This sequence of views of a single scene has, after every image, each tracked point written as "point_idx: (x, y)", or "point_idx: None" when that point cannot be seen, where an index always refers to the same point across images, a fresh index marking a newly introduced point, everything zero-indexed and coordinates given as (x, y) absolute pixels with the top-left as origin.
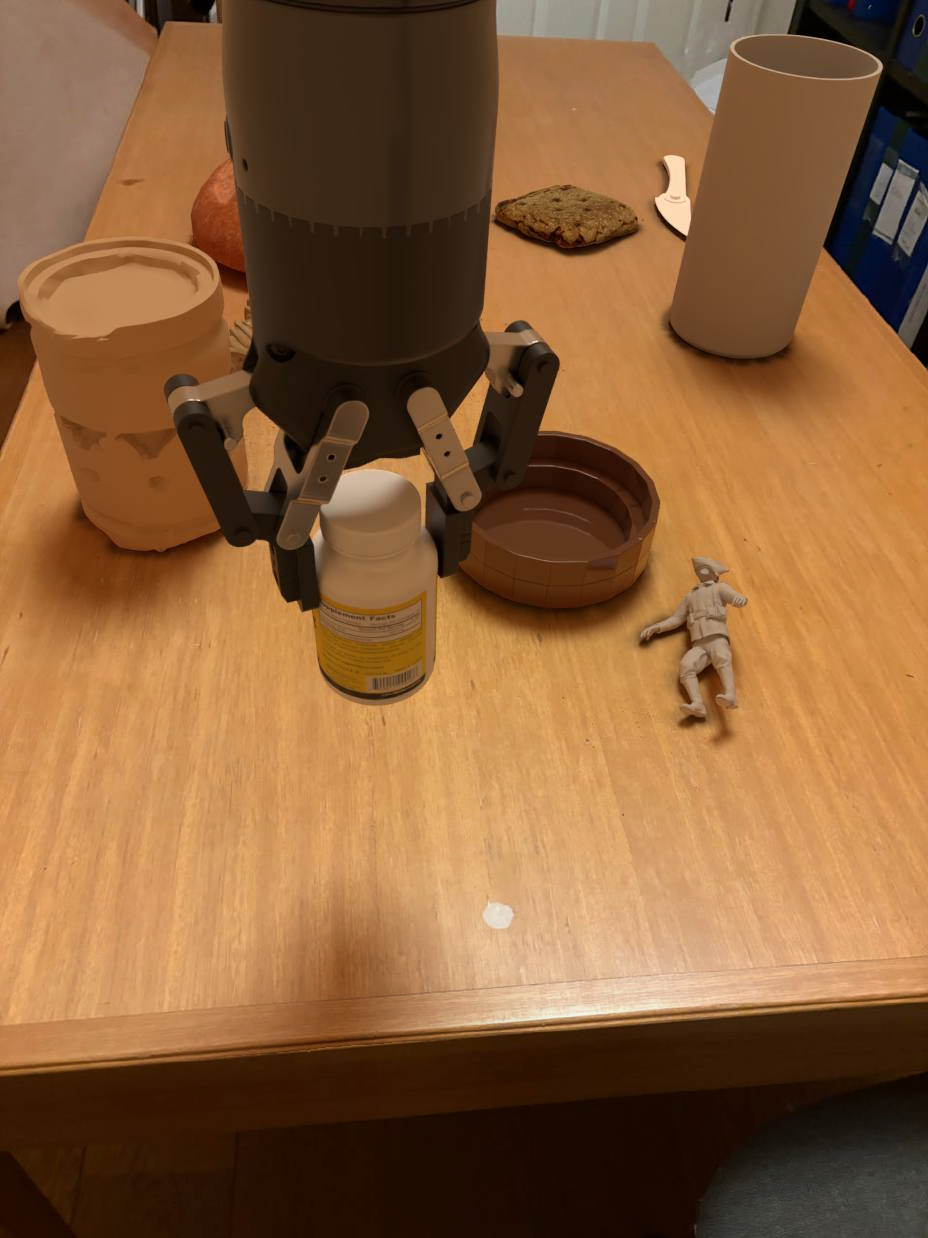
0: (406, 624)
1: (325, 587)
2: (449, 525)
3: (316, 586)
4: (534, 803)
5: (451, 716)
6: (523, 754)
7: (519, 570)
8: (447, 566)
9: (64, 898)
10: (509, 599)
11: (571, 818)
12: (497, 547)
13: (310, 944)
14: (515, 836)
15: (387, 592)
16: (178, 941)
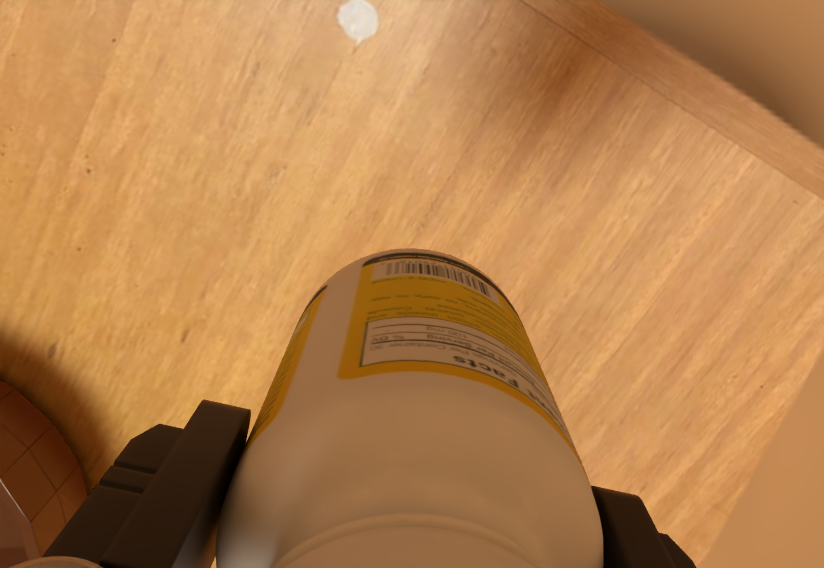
0: (418, 332)
1: (600, 524)
2: (170, 533)
3: (623, 539)
4: (217, 130)
5: (239, 308)
6: (185, 203)
7: (12, 454)
8: (225, 426)
9: (765, 342)
10: (55, 426)
11: (184, 79)
12: (20, 504)
13: (577, 129)
14: (269, 103)
15: (477, 415)
16: (696, 223)
